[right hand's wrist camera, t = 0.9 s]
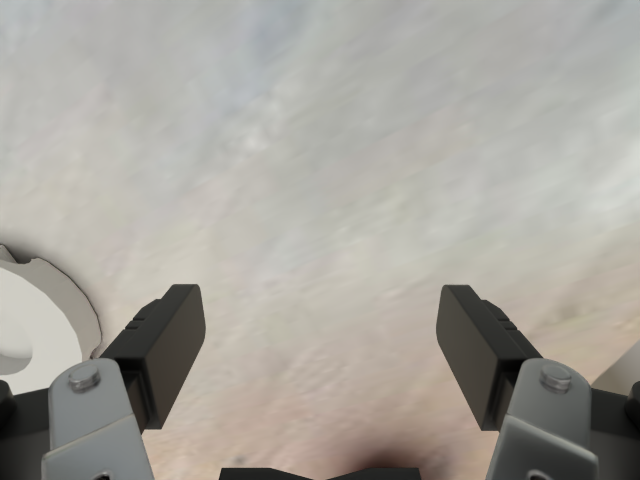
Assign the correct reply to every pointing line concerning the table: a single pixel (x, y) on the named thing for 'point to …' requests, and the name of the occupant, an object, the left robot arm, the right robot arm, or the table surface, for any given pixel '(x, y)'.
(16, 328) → the ashtray
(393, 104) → the table surface
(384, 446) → the table surface
